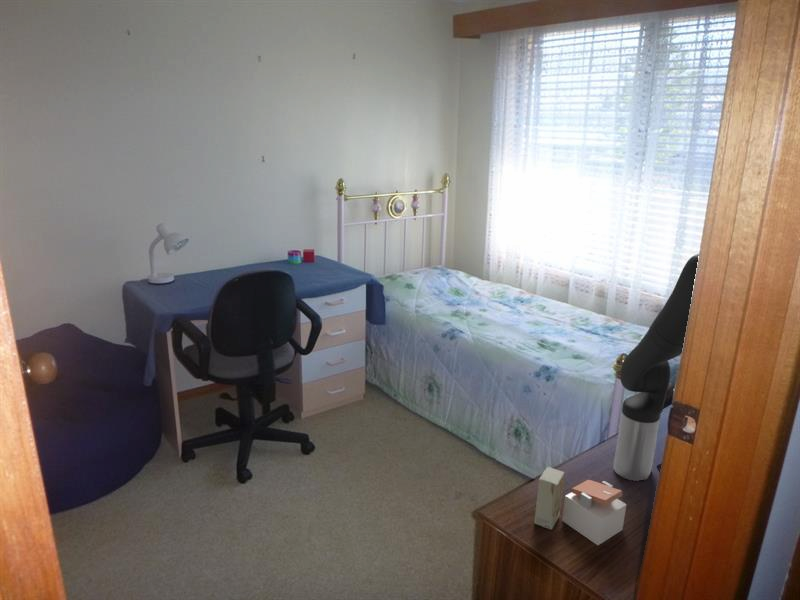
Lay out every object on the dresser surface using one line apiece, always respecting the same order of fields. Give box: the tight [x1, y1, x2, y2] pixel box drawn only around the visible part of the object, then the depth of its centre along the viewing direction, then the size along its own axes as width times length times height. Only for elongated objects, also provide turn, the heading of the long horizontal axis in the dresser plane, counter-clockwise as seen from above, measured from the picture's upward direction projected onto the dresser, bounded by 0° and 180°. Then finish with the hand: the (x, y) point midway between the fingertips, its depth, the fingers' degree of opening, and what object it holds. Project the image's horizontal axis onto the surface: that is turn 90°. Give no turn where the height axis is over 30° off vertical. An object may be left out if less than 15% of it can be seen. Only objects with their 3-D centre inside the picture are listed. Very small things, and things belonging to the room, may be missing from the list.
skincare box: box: [534, 466, 565, 530], centre depth 138 cm, size 6×4×12 cm
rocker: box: [571, 479, 623, 505], centre depth 135 cm, size 6×9×2 cm, turn 36°
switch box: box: [561, 480, 627, 546], centre depth 137 cm, size 9×10×10 cm
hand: (666, 466), depth 119 cm, fingers open, 3 cm apart
